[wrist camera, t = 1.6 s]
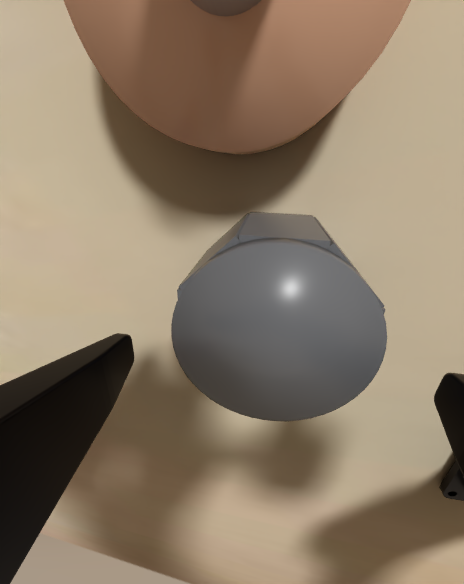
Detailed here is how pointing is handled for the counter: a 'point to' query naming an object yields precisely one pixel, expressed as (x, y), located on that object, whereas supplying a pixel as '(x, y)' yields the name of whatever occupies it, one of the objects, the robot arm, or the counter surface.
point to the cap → (278, 321)
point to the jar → (234, 62)
